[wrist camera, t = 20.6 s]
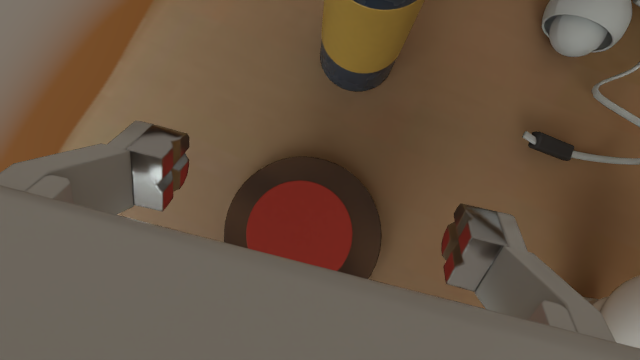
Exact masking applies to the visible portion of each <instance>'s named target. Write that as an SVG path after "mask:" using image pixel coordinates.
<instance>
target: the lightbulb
mask: <svg viewBox="0 0 640 360" xmlns="http://www.w3.org/2000/svg"><path fill="white" fill-rule="evenodd" d="M583 298H584V299H586V300H587V301H588V302H589V303H590V304H591V305H592V306H593V307H595V308H596V309H597V310H598V311H599V312H600V313H601V314H602V315H603V317H604V319H605V321H606V323H607V325H608V327H609V329H610V331H611V333H612V335H613V337H614V339H615V341H616V343H620V344H624V345H628V346H632V347H636V348H640V275H639V276H636V277H633V278H631V279H629V280H627V281H626V282H624V283H622V284H621V285H620V286H618V287H617V288H616V289H615V290H614V291H613V292H612V293H611V294H610V295H609V296H608V297H604V298H601V299H594V298H587V297H583Z"/></svg>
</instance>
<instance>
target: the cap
mask: <svg viewBox="0 0 640 360" xmlns="http://www.w3.org/2000/svg"><path fill="white" fill-rule="evenodd" d="M352 234H353V232H352V223H351V219H350V216H349V213H348V211H347V209H346V207H345V205H344V204H343V202H342V201H341V200H340V199H339V197H338V196H337V195H336V194H334V193H333V192H332V191H331V190H329V189H328V188H326V187H324V186H322V185H320V184H317V183H314V182H310V181H302V180H297V181H289V182H285V183H282V184H279V185H277V186H275V187H273V188H272V189H270V190H269V191H267V192H266V193H265V194H264V195H263V196H262V197H261V198H260V199H259V200H258V201H257V203H256V204H255V205H254V207H253V209H252V211H251V213H250V216H249V219H248V223H247V229H246V240H247V246H248V249H252V250H256V251H260V252H264V253H268V254H272V255H276V256H280V257H284V258H287V259H291V260H295V261H299V262H303V263H307V264H311V265H315V266H319V267H323V268H327V269H331V270H334V271H338V270H339V268H341V267H342V265H343V263H344V262H345V260H346V258H347V256H348V254H349V251H350V248H351V244H352V236H353V235H352Z"/></svg>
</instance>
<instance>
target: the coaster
mask: <svg viewBox="0 0 640 360" xmlns="http://www.w3.org/2000/svg"><path fill="white" fill-rule="evenodd" d="M297 180H302V181H310V182H314V183H317V184H320V185H322V186H324V187H326V188H328V189H329V190H331V191H332V192H333V193H334V194H336V195H337V196H338V197H339V199H340V200H341V201H342V202H343V204H344V205H345V207H346V209H347V211H348V213H349V216H350V219H351V223H352V232H353V234H352V235H353V236H352V244H351V248H350V251H349V254H348V256H347V258H346V260H345V262H344V263H343V265H342V267H341V268H339V270H338V272H342V273H346V274H350V275H354V276H358V277H362V278H366V279H368V278H369V277H370V275H371V273H372V271H373V269H374V267H375V265H376V262H377V259H378V256H379V251H380V246H381V225H380V220H379V215H378V212H377V209H376V206H375V204H374V201H373V199H372V197H371V196H370V194H369V192H368V191H367V189H366V188H365V187H364V186H363V184H362V183H361V182H360V181H359V180H358V179H357V178H356V177H355V176H354V175H353V174H351V173H350V172H349V171H347V170H346V169H344V168H343V167H341V166H339V165H337V164H335V163H332V162H330V161H327V160H324V159H319V158H314V157H292V158H286V159H283V160H279V161H276V162H274V163H271V164H269V165H267V166H265V167H264V168H262V169H260V170H259V171H257V172H256V173H255V174H253V175H252V176H251V177H250V178H249V179H248V180H247V181H246V182H245V183H244V184H243V185H242V187H241V188H240V189H239V190H238V192H237V194H236V195H235V197H234V199H233V200H232V203H231V205H230V208H229V210H228V213H227V217H226V221H225V229H224V242H225V243H229V244H233V245H237V246H240V247H244V248H248V246H247V240H246V229H247V223H248V219H249V216H250V213H251V211H252V209H253V207H254V205H255V204H256V203H257V201H258V200H259V199H260V198H261V197H262V196H263V195H264V194H265V193H266V192H267V191H269V190H270V189H272V188H273V187H275V186H277V185H279V184H282V183H285V182H289V181H297Z"/></svg>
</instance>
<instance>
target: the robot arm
mask: <svg viewBox="0 0 640 360" xmlns="http://www.w3.org/2000/svg"><path fill="white" fill-rule="evenodd" d="M188 148H189V136H188V134H187V133H184V132H180V131H176V130H173V129H169V128H165V127H162V126H158V125H154V124H151V123H147V122H143V121H134V122H133V123H132V124H131V125H129V126H128V127H127V128H126V129H125V130H124V131H122V132H121V133H120V134H119V135H118V136H116V137H115V138H114V139H113V140H112V141H110V142H109V143H108V144H107V145H105V144H97V145H93V146H89V147H84V148H80V149H75V150H71V151H67V152H62V153H58V154H54V155H49V156H45V157H40V158H36V159H32V160H27V161H23V162H18V163H14V164H12V165H11V166H9V167H8V168H7V169H5V170H4V171H2V172H1V173H0V360H640V348H636V347H632V346H628V345H624V344H620V343H616V341H615V339H614V337H613V335H612V333H611V331H610V329H609V327H608V325H607V323H606V321H605V319H604V317H603V315H602V314H601V313H600V312H599V311H598V310H597V309H596V308H595V307H593V306H592V305H591V304H590V303H589V302H588V301H587V300H586V299H584V298H583V297H582V296H581V295H580V294H579V293H578V292H576V291H575V290H574V289H573V288H572V287H571V286H570V285H569V284H567V283H566V282H565V281H564V280H563V279H562V278H561V277H559V276H558V275H557V274H556V273H555V272H554V271H553V270H552V269H550V268H549V267H548V266H547V265H546V264H545V263H544V262H542V261H541V260H540V259H539V258H538V257H537V256H536V255H535V254H533V253H530V252H528V251H527V248H526V246H525V243H524V241H523V238H522V235H521V233H520V230H519V228H518V225H517V222H516V220H515V217H514V216H513V215H511V214H507V213H502V212H497V211H492V210H488V209H483V208H479V207H475V206H470V205H466V204H461V203H460V204H459V206H458V207H457V208H456V210H455V212H454V219H455V222H453V223H451V224H450V225H448V226H447V229H446V231H445V233H444V236H443V240H442V248H441V250H442V256H443V257H444V258H445V260H446V263H445V265H444V273H445V280H446V284H449V285H452V286H456V287H459V288H463V289H466V290H470V291H473V292H475V294H476V296H477V297H478V299H479V300H480V301H481V303H482V304H483V306H484V307H485V309H484V308H480V307H476V306H472V305H468V304H464V303H460V302H456V301H452V300H448V299H444V298H440V297H436V296H433V295H429V294H425V293H421V292H417V291H413V290H409V289H405V288H401V287H397V286H393V285H389V284H385V283H382V282H378V281H374V280H370V279H366V278H362V277H358V276H354V275H350V274H346V273H342V272H338V271H334V270H331V269H327V268H323V267H319V266H315V265H311V264H307V263H303V262H299V261H295V260H291V259H287V258H284V257H280V256H276V255H272V254H268V253H264V252H260V251H256V250H252V249H248V248H244V247H240V246H237V245H233V244H229V243H225V242H221V241H217V240H213V239H209V238H205V237H201V236H197V235H193V234H189V233H186V232H182V231H178V230H174V229H170V228H166V227H162V226H158V225H154V224H150V223H146V222H142V221H139V220H135V219H131V218H127V217H123V216H119V215H117V214H119V213H121V212H123V211H125V210H127V209H129V208H131V207H133V206H134V205H136V206H141V207H145V208H149V209H154V210H158V211H164V209H165V208H166V207H167V205H168V204H169V203H170V201H171V200H172V199H173V191H176V190H178V189H180V188H181V186H182V185H183V184H184V181H185V179H186V176H187V173H188V168H189V159H188V157H187V156H186V154H185V152H186V151H187V149H188Z"/></svg>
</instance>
